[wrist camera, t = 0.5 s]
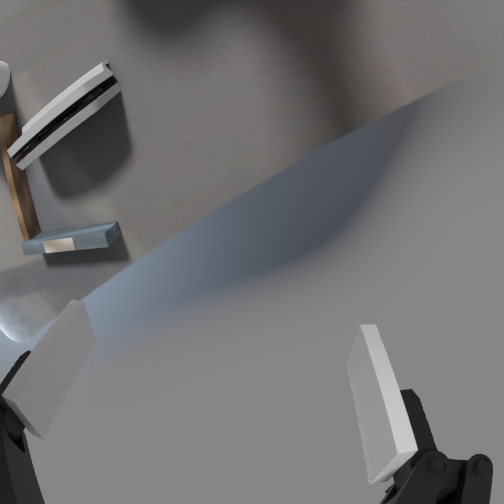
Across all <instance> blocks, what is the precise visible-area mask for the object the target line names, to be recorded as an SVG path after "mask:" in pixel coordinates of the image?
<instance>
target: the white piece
mask: <svg viewBox="0 0 504 504" xmlns="http://www.w3.org/2000/svg"><path fill="white" fill-rule="evenodd" d="M106 64H108V61H107V60H106V61H104V62H102V63H101V64H99V65H98V66H96V67H95V68H94V69H92V70H91V71H89V72H88V73H87V74H85V75H84V76H83V77H81V78H80V79H79V80H77V81H76V82H75V83H73V84H72V85H71V86H69V87H68V88H67V89H66V90H64V91H63V92H62V93H61V94H60V95H58V96H57V97H56V98H55V99H54V100H52V101H51V102H50V103H49V104H48V105H47V106H45V107H44V108H43V109H42V110H41V111H40V112H39V113H38V114H36V115H35V116H34V117H33V118H32V119H31V120H30V121H29V122H28V123H27V124H26V125H25V126H24V127H23V128H22V131H23V135H22V136H21V137H20V138H19V139H18V140H17V141H16V142H15V143H14V144H13V145H12V146H11V147H10V148H9V149H8V150H7V152H8V154H9V156H10V158H11V157H13V159H14V158H15V157H16V156H18V155H19V154H20V153H21V152H22V151H23V150H24V149H25V148H26V147H27V146H29V148H28V149H27V150H26V151H25V152H24V153H23V154H22V155H21V156H20V157H19V158H18V159H17V161H16V163H17V165H16V166H18V167H19V168H20V169H21V170H23V169H25V168H26V167H27V166H28V165H30V164H31V163H32V162H33V161H34V160H36V159H37V158H38V157H39V156H40V155H42V154H43V153H44V152H45V151H46V150H48V149H49V148H50V147H51V146H53V145H54V144H55V143H56V142H57V141H59V140H60V139H61V138H62V137H64V136H65V135H66V134H67V133H69V132H70V131H71V130H73V129H74V128H75V127H76V126H78V125H79V124H80V123H82V122H83V121H84V120H86V119H87V118H88V117H90V116H91V115H92V114H94V113H95V112H96V111H98V110H99V109H100V108H101V107H102V106H103V105H105V104H106V103H107V102H108V101H109V100H110V99H112V98H113V97H114V96H115V95H116V94H118V93H119V92H120V91H121V89H120V85H119V82H118V83H115V82H113V83H111V84H109V85H108V86H106V87H105V88H104V89H101V88H100V87H101V86H103V85H104V84H106V83H107V82H108V81H110V80H111V79H113V78H112V77H111V76H112V75H113V73H112V72H111V71H110V70H109V69H108V68H107V66H106ZM76 105H78V107H79V108H78V109H77V110H75V111H74V112H73V113H71V114H70V115H69V116H68V117H66V118H65V119H64V120H62V121H61V122H60V121H59V120H58V119H59V118H61V117H62V116H63V115H64V114H66V113H67V112H68V111H69V110H71V109H72V108H73V107H75V106H76ZM39 135H40V136H41V139H40V138H39V139H37V137H38V136H39Z"/></svg>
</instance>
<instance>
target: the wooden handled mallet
mask: <svg viewBox="0 0 504 504" xmlns="http://www.w3.org/2000/svg"><path fill="white" fill-rule="evenodd" d="M17 140H18V133H17V126H16V118H15V113H11V114H6V115H2V116H0V147H1V152H2V158H3V163H4V168H5V173H6V177H7V182H8V186H9V190H10V194H11V198H12V202H13V206H14V209H15V213H16V216H17V220H18V223H19V226H20V229H21V233H22V236H23V239H24V242H22V243H21V246H22V249H23V252H24V255H33V254H43V253H53V252H63V251H73V250H83V249H94V248H105V247H109V246H110V245H111V244H112V243H113V242H114V241H115V240H116V239H117V238H118V237H119V236H120V235H121V234H120V230H119V226H118V222H110V223H103V224H95V225H88V226H81V227H74V228H67V229H60V230H54V231H47V232H40V229H39V225H38V222H37V219H36V215H35V212H34V208H33V204H32V201H31V197H30V193H29V189H28V185H27V180H26V176H25V171H24V169H23V170H21V169H20V168H19V167H18V166H16V165H17V163H16V161H17V159H18V158H19V157H20V156H21V153H20V154H19V155H18V156H16V157H15V158H14V159H13V157H11V158H10V156H9V154H8V152H7V150H8V149H9V148H10V147H11V146H12V145H13V144H14V143H15V142H16V141H17Z"/></svg>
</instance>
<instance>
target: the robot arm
mask: <svg viewBox="0 0 504 504" xmlns="http://www.w3.org/2000/svg"><path fill="white" fill-rule="evenodd" d="M96 343H97V342H96V339H95V336H94V333H93V330H92V327H91V324H90V321H89V317H88V314H87V311H86V308H85V304H84V301H77V300H71V301H70V302H69V304H68V305H67V306H66V307H65V309H64V310H63V311H62V312H61V314H60V315H59V316H58V317H57V319H56V320H55V321H54V323H53V324H52V325H51V326H50V328H49V329H48V330H47V332H46V333H45V334H44V336H43V337H42V338H41V340H40V341H39V342H38V344H37V345H36V346H35V348H34V349H33V351H32V352H31V351H27V352H25V353H24V354H23V355H21V356H20V357H19V359H18V360H17V361H16V363H15V364H14V366H13V367H12V368H11V370H10V372H8V374H7V375H6V377H5V378H4V380H3V381H2V383H1V384H0V504H45V503H44V500H43V497H42V494H41V491H40V488H39V485H38V482H37V478H36V475H35V471H34V468H33V464H32V460H31V457H30V453H29V448H28V444H27V440H26V436H25V433H24V432H23V430H24V428H25V427H26V428H27V429H28V431H29V432H30V433H31V434H32V435H34V436H37V437H39V438H41V439H43V440H44V439H45V437H46V435H47V433H48V431H49V429H50V427H51V425H52V423H53V421H54V419H55V417H56V415H57V413H58V411H59V409H60V407H61V405H62V403H63V402H64V400H65V398H66V396H67V394H68V392H69V390H70V388H71V387H72V385H73V383H74V381H75V380H76V378H77V376H78V374H79V372H80V371H81V369H82V367H83V365H84V364H85V362H86V360H87V358H88V357H89V355H90V353H91V352H92V350H93V348H94V347H95V345H96ZM347 371H348V375H349V380H350V384H351V389H352V394H353V398H354V403H355V408H356V413H357V418H358V423H359V428H360V433H361V439H362V444H363V450H364V456H365V461H366V468H367V474H368V480H369V484H373V483H379V482H385V481H388V480H389V479H390V478H391V477H392V476H393V478H394V484H393V485H391V486H390V487H389V488H388V489H387V490H386V491H385V492H386V493H387V492H388V493H387V494H386V496H385V497H384V499H383V500H382V502H381V503H380V504H489V502H490V494H491V485H492V476H493V465H492V462H491V460H490V459H489V458H488V457H487V456H486V455H483V454H476V455H474V456H472V457H471V458H470V459H469V460H454V459H448V458H447V457H446V455H444V454H443V453H442V452H439V451H438V450H437V448H436V445H435V443H434V439H433V436H432V433H431V430H430V427H429V424H428V422H427V419H426V416H425V413H424V411H423V407H422V404H421V401H420V399H419V397H418V396H417V395H416V394H415V393H414V392H413V390H412V389H408V390H399V387H398V384H397V381H396V378H395V376H394V373H393V370H392V367H391V364H390V362H389V359H388V356H387V353H386V351H385V348H384V345H383V343H382V340H381V337H380V335H379V333H378V330H377V327H376V325H360V327H359V330H358V333H357V336H356V340H355V342H354V345H353V348H352V351H351V354H350V357H349V360H348V363H347Z"/></svg>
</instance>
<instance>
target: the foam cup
mask: <svg viewBox="0 0 504 504" xmlns="http://www.w3.org/2000/svg"><path fill="white" fill-rule="evenodd" d="M9 81H10V69H9V67H8V65H7V64H6V63H5V62H1V61H0V97H1V96H3V95H4V93H5V91H6V90H7V88H8V84H9Z"/></svg>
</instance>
